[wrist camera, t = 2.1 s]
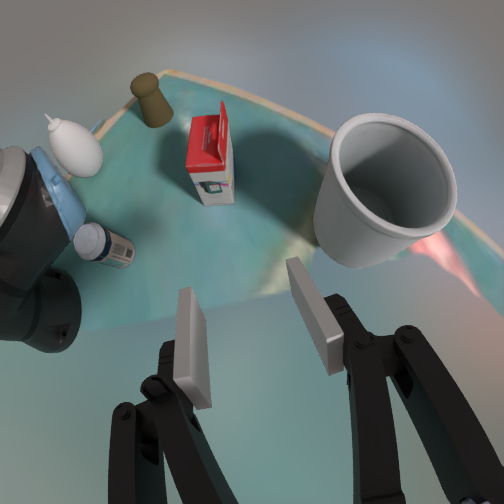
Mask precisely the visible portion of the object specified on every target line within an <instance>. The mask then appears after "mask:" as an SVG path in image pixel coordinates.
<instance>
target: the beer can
mask: <svg viewBox="0 0 504 504" xmlns="http://www.w3.org/2000/svg"><path fill="white" fill-rule="evenodd" d="M73 241H74V246H75V250H76V252H77V254H78V255H79V256H80V257H81V258H82V259H84V260H88V261H92V262H96V263H101V264H105V265H109V266H113V267H117V268H124V267H127V266H128V265H129V264H130V263H131V262H132V261H133V259H134V256H135V249H134V245H133V244H132V242H131V241H130V240H128V239H126V238H124V237H122V236H120V235H118V234H116V233H114V232H112V231H111V230H109V229H107V228H105V227H103V226H101V225H99V224H97V223H94V222H90V223H86V224H84V225H82V226H81V227H80V229H79V230H78V231H77V233H76V234H75V237H74V240H73Z"/></svg>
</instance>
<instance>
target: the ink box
mask: <svg viewBox="0 0 504 504" xmlns="http://www.w3.org/2000/svg"><path fill="white" fill-rule="evenodd" d="M186 169H187V171H188V173H189V175H190V177H191V179H192V181H193V183H194V185H195V187H196V189H197V191H198V193H199V196H200V198H201V200H202V202H203V204H204V206H213V205H227V204H234V154H233V148H232V143H231V137H230V131H229V125H228V119H227V114H226V110H225V106H224V102H223V101H222V100H221V110H220V115H206V116H198V117H193V118H192V123H191V129H190V136H189V142H188V150H187V158H186Z"/></svg>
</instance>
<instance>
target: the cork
mask: <svg viewBox="0 0 504 504" xmlns="http://www.w3.org/2000/svg"><path fill="white" fill-rule="evenodd" d="M158 86H159V81H158V78H157V76H156V75H154V74H153V73H149V72H148V73H143V74H140V75H139V76H137V77H136V78H135V79H134V80H133V81H132V82H131V86H130V89H131V92H132V94H133V95H134V96H136V97H138V100H139V104H140V107H141V110H142V114H143V117H144V120H145V123H146V125H147V126H148V127H150V128H158V127H161V126H163V125H165V124H167V123H168V122H169V121H170V120H171V119H172V117H173V110H172V108H171V107H170V105H169V104H168V102H167V100H166V99H165V97H164V96H163V94H162V93H161V91H160V89H159V88H158Z"/></svg>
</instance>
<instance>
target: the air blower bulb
mask: <svg viewBox="0 0 504 504" xmlns="http://www.w3.org/2000/svg"><path fill="white" fill-rule="evenodd" d="M45 116H46V118H47V119H48V120H49V121H50V124H49V125H48V131H49V138H50V145H51V148H52V151H53V153H54V155H55V157H56V159H57V161H58V162H59V163H60V165H61V166H62V167H63V168H64V169H65V170H66V171H68V172H69V173H70V174H72V175H75V176H77V177H82V178H89V177H92V176H93V175H95V174H96V173H97V172H98V171H99V169H100V168H101V166H102V163H103V152H102V149H101V146H100V144H99V142H98V140H97V139H96V138H95V136H94V135H93V134H92V133H91V132H90V131H89V130H87V129H86V128H84V127H83V126H81V125H79V124H77V123H74V122H71V121H67V120H61V119H60V118H55V119H53V120H51V118H50V117H49V116H48V115H47V114H45Z"/></svg>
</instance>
